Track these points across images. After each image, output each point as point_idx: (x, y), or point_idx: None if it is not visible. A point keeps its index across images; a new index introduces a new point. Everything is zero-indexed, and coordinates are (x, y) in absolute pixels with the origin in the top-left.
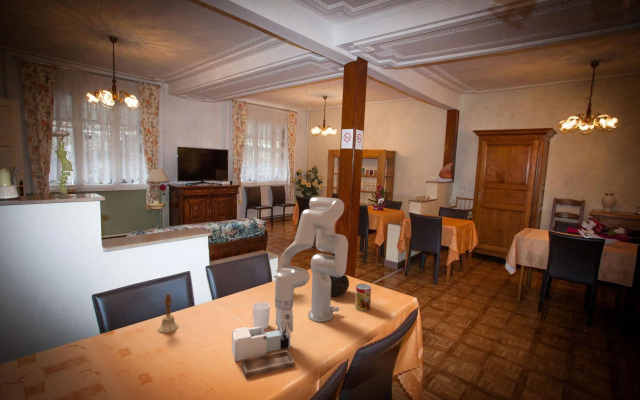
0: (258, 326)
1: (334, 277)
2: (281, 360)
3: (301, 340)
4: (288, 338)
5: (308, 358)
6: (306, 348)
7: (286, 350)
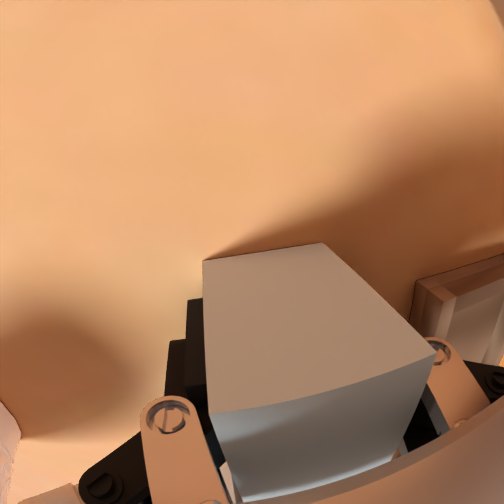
0: (15, 451)
1: None
2: (466, 333)
3: (199, 61)
4: (448, 348)
5: (494, 125)
6: (387, 66)
7: (443, 314)
